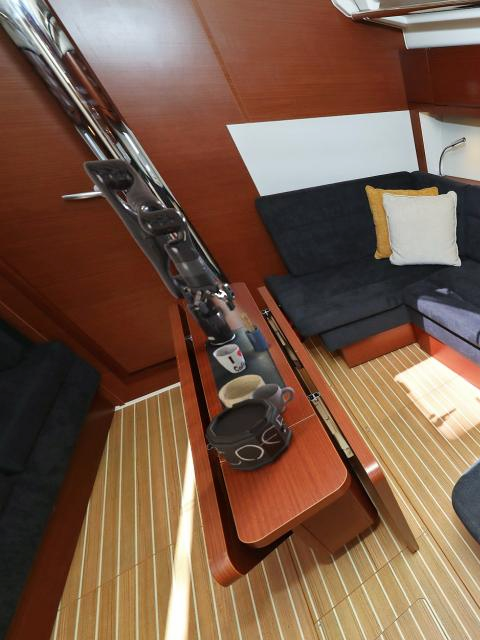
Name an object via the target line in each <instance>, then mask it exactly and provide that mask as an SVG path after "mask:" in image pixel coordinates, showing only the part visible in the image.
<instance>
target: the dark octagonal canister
mask: <svg viewBox="0 0 480 640" xmlns="http://www.w3.org/2000/svg"><path fill="white" fill-rule="evenodd" d="M277 411H278V409H277V408H276V407H275V406H274V405H273V404H272V403H271V402H270V401H268V400H264V399H246V400H244V401H241V402H238V403H235V404H232V407H225V408H224V409H223V410H221V411H219V413H217V414H215V416H213V417H212V419H211V421H210V423H209V425H208V427H207V428H206V430H205V431H206V433H205V438H206V439H207V441H208V442H209V444H210V445H211V447H212V448H216V450H217V451H218V453H219V455H220V456H221V457H222V458H223V459H224V460H225V461H226V462H227V463H228V464H229V466H230V467H231V469H232V470H235V471H258V470H260V469H263V468H264V467H267V466H269V465H271V464H274V463H275V462H276V461H278V460H279V458H281V456H283V455H284V454H285V453H286V452H287V451H288V449H289V445H290V442H291V439H292V435H293V431H292V430H291V429H290V428H289V426H288V424H287V423H286V421H285V420H284V418H283V417H282V416H281V414H278V412H277Z"/></svg>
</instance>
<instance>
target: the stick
mask: <svg viewBox="0 0 480 640" xmlns="http://www.w3.org/2000/svg"><path fill="white" fill-rule="evenodd" d="M238 316H239V317H240V320H241V321H242V322H243V324H244V326H245V327H246V330H247V329H248V331H249V333H252V332H255V329H254V327H255V326H254V325H253V324H252V323H251V320H250V319H249V317H248V315H247V313H246V312H244V311H243V312H240V313H238Z"/></svg>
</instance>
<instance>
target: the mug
mask: <svg viewBox="0 0 480 640" xmlns="http://www.w3.org/2000/svg"><path fill="white" fill-rule="evenodd" d="M265 384H266V385H263V386H260V387H258V388H257V389H255V390H254V391H253V392H252V393H251V395H250V399H264V400H268V401H270V402H271V403H272V404H273V405H274V406H275V407H276V408H277V409H278V411H277V412H278V414H279V415H281V414H282V413H283V412H284V411H285V408H286V407H285V405H286V404H288V403H290V402H291V401H293V399H294V397H295V391H294V389H293V388H292V387H290V386H289V387H288V386H287V387H284V388H281V387H280V386H279V385H278V384H277V383H265ZM288 392H289V397H288V398H287V399H285V396H284V394H286V393H288Z"/></svg>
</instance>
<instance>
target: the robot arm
mask: <svg viewBox="0 0 480 640" xmlns="http://www.w3.org/2000/svg"><path fill="white" fill-rule="evenodd" d="M83 168H84V170H85V172H86V174H87V176H88V177H89V178H90V180H91V181H92V183H93V184H94V186H95V187H96V188H97V189H98V190H99V192H100V193H101V194H102V195H103V197H104V198H105V199H106V201H107V202H108V203H109V204H110V206H111V207H112V208H113V210H114V211H115V212H116V214H117V215H118V217H119V218H120V219H121V221H122V223H123V224H124V226H125V227H126V229H127V230H128V232H129V234H130V235H131V237H132V238H133V239H134V241H135V242H136V244H137V245H138V247H139V248H140V249H141V250H142V252H143V253H144V255H145V256H146V257H147V258H148V260H149V261H150V263H151V264H152V266H153V267H154V269H155V270H156V272H157V274H158V275H159V277H160V280H161V281H162V282H163V284H164V285H165V287H166V289H167V291H168V292H169V293H170V294H171V295H172V296H173V297H174V298H175V299H176V300H185V301H186V302H187V305H186V309H187V311H188V312H189V314H190V315H191V317H192V318H193V319H194V321H195V323H197V325H198V327H199V328H200V329H201V331H202V333H203V334H204V335H205V337H206V338H207V340H208V341H209V343H210V344H211V345H212V346H224V345H227V344H229V343H230V342H232V341H234V340H235V338H236V333H235V332H234V331H233V329H232V328H231V327H230V325H229V323H228V322H227V320H226V318H225V314H226V313H225V311H224V309H223V308H222V307H220V306H218V305H217V304H216V303H215V301H214V299H217V300H220V301H222V302H225V306H226V307H227V308H228V310H229V311H230V312H233V311H234V310H235V309H236V305H235V303H234V302H233V301H234V300H235V298H237V295H236V293H235V292H234V290H233V289H232V287H231V286H230V284H229V283H228V282H224V283H223V284H218V283H217V282H216V279H215V277H214V275H213V273H212V272H211V269H210V268H209V267H208V265H207V263H206V262H205V260H204V259H203V258H202V257H201V256H200V253H199V252H198V250H197V249H196V246H195V245H194V243H193V240H192V238H191V234H190V229H189V223H188V220H187V218H186V217H185V215H184V214H183V212H181V211H180V210H178V209H177V208H174V207H173V208H172V207H171V208H170V207H168V208H167V207H166V205H164V203H163V202H161V201H160V200H159V198H157V197H156V196H155V195H154V193H152V191H151V189H150V188H149V186H148V185H147V184H146V182H145V181H144V179H143V178H142V177H141V175H140V174H139V173H138V171H137V170H136V169H135V167H134V166H133V165H132V164H130V162H128V161H126V160H124V159H121V158H111V159H99V160H89V161H85V162H84V163H83ZM117 192H125V200H126V201H124V200H123V198H121V197H120V196H119V194H117ZM171 234H172V235H173V234H176V237H174V238H173V239H171V237H170V235H171ZM171 261H172V262H173V265H174V266H175V268H176V270H177V271H178V273H179V274H176V275H174V276H173V275H172V274H173V273H172V271H171Z"/></svg>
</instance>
